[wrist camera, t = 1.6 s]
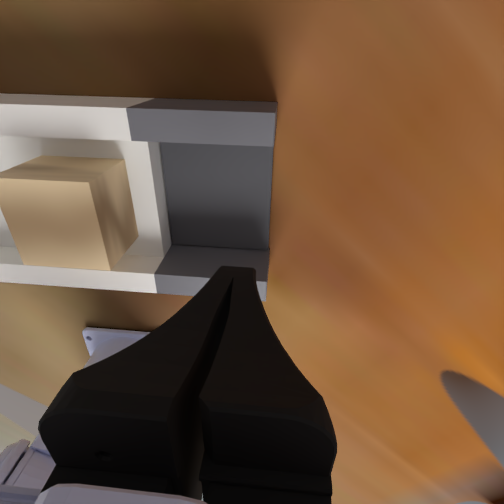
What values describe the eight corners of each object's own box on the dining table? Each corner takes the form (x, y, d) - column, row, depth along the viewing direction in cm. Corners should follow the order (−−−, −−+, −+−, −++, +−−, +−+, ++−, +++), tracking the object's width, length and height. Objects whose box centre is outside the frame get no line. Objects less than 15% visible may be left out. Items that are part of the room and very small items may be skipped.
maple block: (138, 236, 21) (110, 270, 18) (65, 231, 22) (23, 264, 18) (124, 159, 19) (88, 182, 15) (41, 155, 19) (-13, 177, 16)
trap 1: (268, 247, 23) (267, 249, 23) (174, 241, 24) (172, 244, 23) (274, 131, 19) (273, 133, 19) (160, 127, 20) (158, 128, 19)
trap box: (268, 266, 24) (265, 301, 21) (-155, 238, 26) (-220, 266, 23) (277, 102, 18) (275, 112, 15) (-264, 85, 21) (-373, 91, 17)
